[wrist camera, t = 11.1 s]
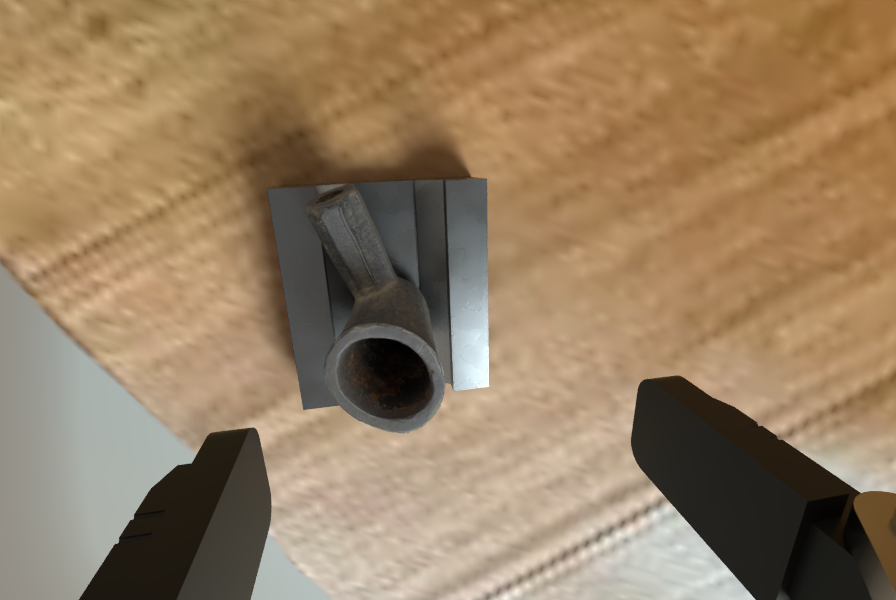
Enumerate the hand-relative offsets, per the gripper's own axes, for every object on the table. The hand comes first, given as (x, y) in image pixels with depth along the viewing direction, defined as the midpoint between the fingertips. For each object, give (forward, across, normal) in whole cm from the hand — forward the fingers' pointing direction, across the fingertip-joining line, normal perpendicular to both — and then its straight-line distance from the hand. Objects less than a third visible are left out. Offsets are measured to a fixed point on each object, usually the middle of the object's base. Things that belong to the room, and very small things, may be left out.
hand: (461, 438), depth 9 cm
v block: (+22, +1, +3) cm, 22 cm away
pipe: (+20, +1, +2) cm, 20 cm away
